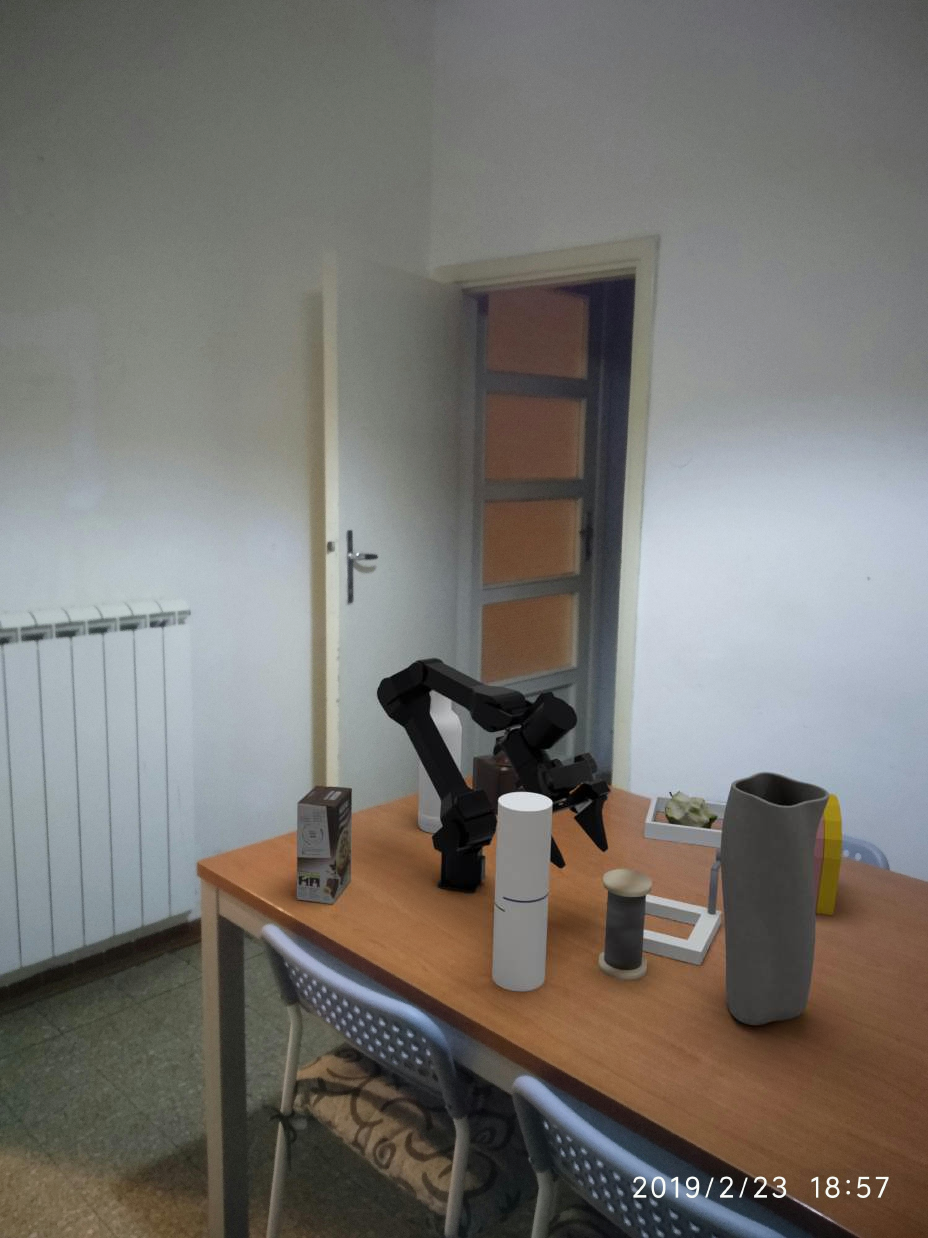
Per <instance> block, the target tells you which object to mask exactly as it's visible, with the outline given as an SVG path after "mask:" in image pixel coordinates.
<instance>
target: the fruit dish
mask: <svg viewBox="0 0 928 1238" xmlns="http://www.w3.org/2000/svg"><path fill="white" fill-rule="evenodd" d="M671 799H672V797H671V796H667V795H660V794H659V795H657V794H653V795H652V797H651V800H650V805H649V807H648V812H647V814H646V819H645V823H644V835H643V837H644V838H645V839H651V840H657V841H666V842H671V843H673V842H674V843H681V844H689V845H697V846H703V847H711V848H716V849H721V834H722V829H720V830H719V829H712V828H711V829H706V828H698V827H691V826H683V825H675V824H669V823H666V822H658V821H655V819H656V815H657V812H662V813H665V806H666V804H667V802H668V801H669V800H671ZM705 803H706V805H707V806H708V808H709V810H710V811H712V812H713V813H714V814H715V815H717V816H718V817H717V819H718V820H723V819H724V813H725V808H726V804H727V802H726V803H724V802H716V801H710V800H705ZM717 819H716V820H717Z"/></svg>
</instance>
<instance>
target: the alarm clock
mask: <svg viewBox="0 0 928 1238" xmlns="http://www.w3.org/2000/svg"><path fill="white" fill-rule="evenodd" d="M829 795H830V797H829V799H828V802H827V805H826V807H825V810H824V812H823V815H822V818H821V821H820V824H819V827H818V831H817V835H816V840H815V847H814V862H813V869H814V893H815V914H819V915H826V914H827V915H828V916H834V911H835V907H836V906H835V905H836V898H837V892H838V886H839V877H840V871H841V862H842V851H843V822H842V821H843V820H842V813H841V805H840V802H839V799H838V797H837V796H836V795H835V794H834V793H829Z"/></svg>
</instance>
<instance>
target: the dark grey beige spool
mask: <svg viewBox="0 0 928 1238" xmlns="http://www.w3.org/2000/svg"><path fill="white" fill-rule="evenodd" d="M602 885H603V888H604V889H605V890H606V891H607V898H606V915H605V916H606V918H605V928H606V932H605V931H604V949H603V950H604V951H602V952H601V953H600V954H599V956H598V969H599V970H600V971H601V972H602V973H603V974H605V975H606V976H608V977H611V978H613V979H616V980H617V979H618V980H624V981H625V980H626V981H629V980H630V981H632V980H636V979H640V978H642V977H643V976H645V975H646V974H647V967H648V966H647V965H648V962H647V959H646V958H645V957H644V955H643V952H644V951H643V936H644V930H645V916H646V913H645V904H646V895H647V894H648V895H650V893H651V892H652V888H653V879H652V878H651V877H650V876H649V875H647V874H646V873H644V872H642V871H639V870H638V871H637V870H635V869H629V868H628V869H627V868H619V869H617V868H616V869H612V870H609V871H607V872H605V873H604V874H603V878H602Z"/></svg>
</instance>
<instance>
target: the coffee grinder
mask: <svg viewBox="0 0 928 1238" xmlns="http://www.w3.org/2000/svg"><path fill="white" fill-rule="evenodd" d="M511 730H512V728H510V729H506V730H504V733H503V736H505V735H507V734H508V733H509V732H510V731H511ZM472 761H473V762H472V781H471V782H472V783H471V785H472V787H471V789H472V790H474V791H477V790H480V789H483V790H484V791H485V792H486V794H487V797H488V799H489V801H490V803H491V805H492V806H493V807H494V808H495V811H494V813H495V815H496V816H498V799H499V798H500V797H501V796H502V795H505V794H508V793H514V792H525V790H524V788H520V789H517V787H516V785H515V783H516V782H517V781H518V780H519V779H518V777H517V775H516V773H515V772H514V770H513V768H512V766H511V764H510V762H509V761H508V759H507V757H506V755H505V753H504V754H500V755H496V756H495V755H494V754H493V753H489V754H484V755H478V756H473V759H472Z"/></svg>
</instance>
